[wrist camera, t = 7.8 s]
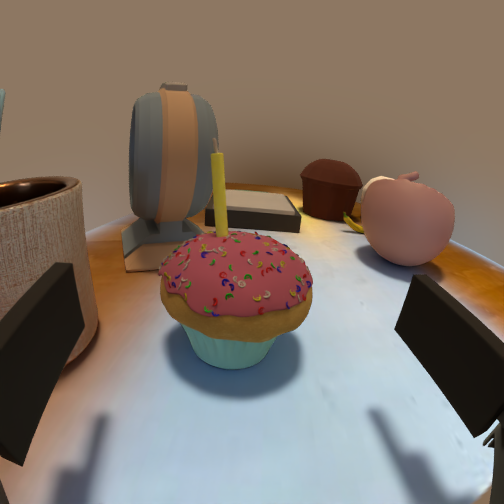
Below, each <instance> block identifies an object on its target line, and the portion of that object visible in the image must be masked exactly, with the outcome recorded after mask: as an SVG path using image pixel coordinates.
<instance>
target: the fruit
mask: <svg viewBox="0 0 504 504" xmlns="http://www.w3.org/2000/svg"><path fill="white" fill-rule="evenodd" d="M343 214H344V221H345V222H346V223H347V224H348V225H349V226H350V227H351V228H352V229H353V230H355V231H357V232H360V233H364V230H363V227H362V226H360V225H357V224H355V223H354V222H353V221H352V220H351V218H350V217H348V216H346V212H343Z"/></svg>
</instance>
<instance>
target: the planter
mask: <svg viewBox="0 0 504 504" xmlns="http://www.w3.org/2000/svg"><path fill="white" fill-rule="evenodd" d="M55 262H62V263H73V269H74V275H75V280H76V286H77V291H78V296H79V301H80V306H81V310H82V314H83V319H84V323H85V328H84V330H83V332H82V334H81V335H80V337H79V339H78V341H77V343H76V345H75V347H74V349H73V350H72V352H71V354H70V356H69V358H68V360H67V362H66V364H65V366H66V365H68V364H69V363H70V362H72V361H73V360H74V359H75V358H76V357H78V356H79V355H80V354H81V353H82V352H83V351H84V350H85V349H86V347H87V346H88V345H89V343H90V342H91V340H92V338H93V337H94V335H95V332H96V329H97V325H98V312H97V305H96V300H95V295H94V290H93V284H92V278H91V273H90V266H89V260H88V253H87V246H86V237H85V228H84V216H83V203H82V183H81V181H80V180H78V179H76V178H72V177H63V176H62V177H61V176H49V177H35V178H26V179H19V180H13V181H7V182H3V183H0V321H1V319H2V318H3V317H4V316H5V315H6V314H7V312H8V311H9V310H10V309H11V308H12V307H13V306H14V305H15V303H16V302H17V301H18V300H19V299H20V298H21V297H22V296H23V295H24V294H25V293H26V292H27V290H28V289H29V288H30V287H31V286H32V285H33V284H34V283H35V282H36V281H37V280H38V279H39V278H40V277H41V276H42V275H43V274H44V273H45V272H46V271H47V270H48V269H49V268H50V267H51V266H52V265H53V264H54V263H55ZM65 366H64V367H65Z"/></svg>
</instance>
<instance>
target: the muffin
mask: <svg viewBox="0 0 504 504" xmlns="http://www.w3.org/2000/svg"><path fill="white" fill-rule="evenodd" d="M300 176H301V178H302V182H303V212H305V213H307V214H309V215H310V216H313V217H317V218H321V219H324V220H334V221H344V214H343V212H346V216H348V217H350V216H351V213H352V210H353V207H354V204H355V201H356V198H357V195H358V192H359V189H361V188H362V186H363V185H362V182H361V179H360V177H359V175H358V173H357V172H356V171H355V170H354V169H353V168H352V167H351V166H349V165H348V164H346V163H344V162H341V161H335V160H330V159H319V160H316V161H314V162H312V163H310V164H309V165H308V166H306V167H305V169H304V170H303V171H302V173H301V174H300Z"/></svg>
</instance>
